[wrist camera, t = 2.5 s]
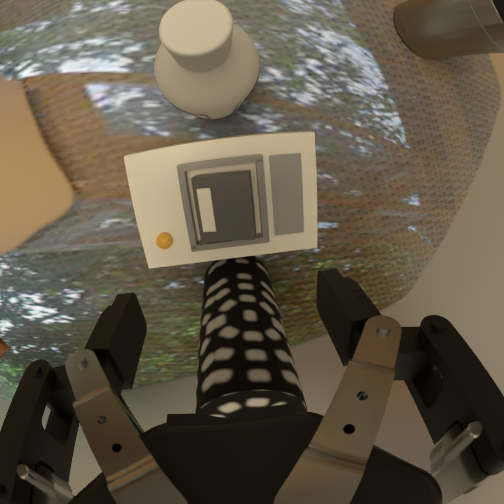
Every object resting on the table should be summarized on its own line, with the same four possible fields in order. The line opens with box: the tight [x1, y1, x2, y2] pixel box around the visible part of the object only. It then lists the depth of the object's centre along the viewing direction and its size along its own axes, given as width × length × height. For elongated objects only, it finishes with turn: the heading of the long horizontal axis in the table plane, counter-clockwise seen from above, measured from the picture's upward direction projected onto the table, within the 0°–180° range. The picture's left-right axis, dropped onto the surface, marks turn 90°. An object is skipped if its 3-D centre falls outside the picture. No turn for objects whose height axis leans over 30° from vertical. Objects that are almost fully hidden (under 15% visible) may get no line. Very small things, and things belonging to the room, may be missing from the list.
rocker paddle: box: [191, 170, 257, 242], centre depth 25 cm, size 5×6×2 cm
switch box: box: [124, 131, 317, 268], centre depth 28 cm, size 18×12×6 cm, turn 95°
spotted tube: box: [196, 256, 307, 418], centre depth 27 cm, size 8×8×20 cm
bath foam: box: [154, 0, 260, 119], centre depth 16 cm, size 7×7×20 cm
